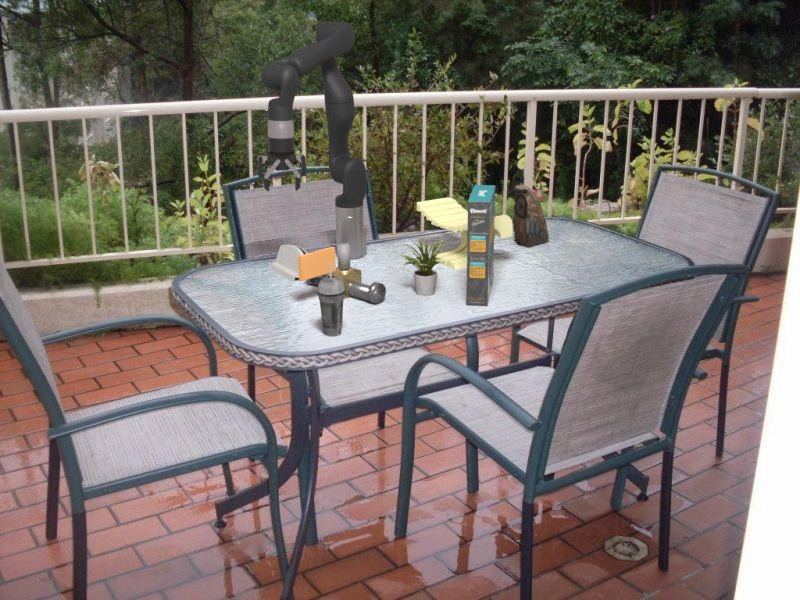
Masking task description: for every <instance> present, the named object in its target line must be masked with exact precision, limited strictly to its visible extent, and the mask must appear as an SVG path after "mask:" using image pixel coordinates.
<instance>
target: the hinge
mask: <svg viewBox="0 0 800 600" xmlns="http://www.w3.org/2000/svg"><path fill="white" fill-rule="evenodd" d="M308 253H309V252H308V251H307V250H306V249H304V248H303V247H301V246H298V245H296V244H295V245H294V244H281V245H280V247H279V250H278V253H277V256H276V258H275V261H274V262H272V263H271V265H270V270H271V271H273V272H274V273H276V274H278V275H280V276H282V277H284V278H285V279H287V280H289V281H290V282H292V283H294V282H295V280H296V278H298V279H299V267H298V256H301V255H304V254H308Z"/></svg>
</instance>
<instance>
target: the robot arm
mask: <svg viewBox="0 0 800 600" xmlns="http://www.w3.org/2000/svg"><path fill="white" fill-rule="evenodd" d="M355 40H356V34H355V29H354V27H353V26H352V25H351V24H350V23H348V22H345V21H322V22H320V23H319V24H318V25H317V26H316V29H315V42H313V43H309V44H307V45H304V46H302V47H300V48H297V50H295V51H293V52H292V53H291V54H289V55H288V56H286V57H282V58H279V59H276V60H273V61H272V62H269V63H268V64H266V65H265V67H263V69H262V71H261V73H260V74H261V75H260V79H261V83H262V85H263V86H264V87H265V88H267V89H269V90H277V91H280V93H279V95H278V97H276V98H271V99H269V100H268V104H267V107H268V108H267V110H268V111H267V112H268V115H267V116H268V121H267V122H268V123H267V141H268V142H267V144H268V145H267V146H268V150H267V151H268V152H267V153H268V154H267V155H260V154H259V155H257V164H256V165H257V168H256V169H257V176H258V177H260V178H262V179H263V188H264V190H265V191H266V192H270V178H269V177H270V176H271V174H272V173H274V171H277V172H279V171H288V170H291V172H292V173H293V174H294V176H295V177H294V190H295V191H296V192H297V191H299V189H301V179H302V177H305V176H307V173H308V172H307V171H308V170H307V160H306V156H305V154H299V155H296V152H295V124H294V107H293V106H294V102H295V98H296V97H295V96H296V94H297V93H296V92H297V89H298V87H299V86H298V85H299V79H300V78H302V77H304V76H305V75H307V74H308V73H310V72H311V71H312V70H313V69H315V68H317V67H318V66H320V70H321V78H322V84H323V85H322V86H323V95H324V107H325V109H324V110H325V115H326V123H327V125H326V126H327V134H328V170H329V175H330V177H331V179H332V180H333V181H334V182H335V183H337V184H341V185H342V193H341V194H339V195H337V196H335V198H334V199H335V200H334V204H335V205H334V207H335V209H334V210H335V211H334V213H335V233H336V234H335V238H336V239H335V240H336V246H337V244H338V243H349V244H350V260H352V259H353V260H355V259H361V258H363V257H364V256H365V255H367V227H366V226H365V225H364V223H365V221H364V220H365V218H364V199H365V197H366V187H367V168H366V165H365V163H364V161H363V160H362V159H360V158H358V157H354V156H350V152H349V135H350V132H351V130H352V126H353V124H354V120H355V116H356V114H355V113H356V109H355V100H354V99H355V98H354V94H353V90H352V88H351V87H350V86H349V84H348V82H347V81H346V79H345V78H344V76H343V74H342V73H341V71H340V69H339V67H338V63H337V56H339V55H342V54H345V53H347V52H349V51H350V50H351V49H352V48H353V47H354V44H355ZM266 161H268V163H269V166H268V167H267V169H266V171H265V172H263V164H264V165H265V162H266ZM296 161H298V163H300V170H301V171H298V170H297V169H296V167H295V166H294V164H295V162H296ZM336 256H337V258H338V249H337V248H336Z"/></svg>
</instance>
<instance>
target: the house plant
mask: <svg viewBox="0 0 800 600" xmlns="http://www.w3.org/2000/svg"><path fill="white" fill-rule="evenodd" d="M417 240H418V242H419V243H418V244H419V245H418V244H417V243H415V242H414V245H416V246H417V248H418V250H419V252H418V251H417V250H416V248H414V247H413V246H411V245H408V244H405V243H402V245H404V246H407V247H406V249H409V251H411V253H413V255H415V256H416V258H414V257H411V256H409V255H404V254H399V256H400V257H402V259H404V260H407V261H406V262H405V263H403V267H404V266H406V265H409V264H410V265H412V266H414V267H415V269H417V270H414V271H413V280H414V285H415V291H416V294H417V295H418V296H420V297H421V296H422V297H428V296H429V297H430V296H433V295H434V294H435V288H436V285H437V284H436V283H437V279H438V272H437V271H436V270H433V268H434V267H435V266H436V265H437V264H438V265H439V264H440V263H444V262H438V261H436V260H437V259H440V258H435V257H436V256H437V254H440V252H441V250H442V249H443V248H444V247H443V246H442V244H441V243H442V242H443V241H445V239H442V240H439V241H436V242H433V243H432V245H431V246H430V248H429V243H428V241H425V243H424V245H423V242H422V241H421V240H420V238H417ZM441 246H442V247H441ZM440 247H441V248H440ZM439 249H440V250H439ZM438 250H439V251H438ZM444 264H445V263H444Z"/></svg>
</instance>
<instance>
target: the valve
mask: <svg viewBox="0 0 800 600" xmlns="http://www.w3.org/2000/svg"><path fill="white" fill-rule="evenodd" d="M331 273H332V276H336V277H338V278H339V279H340V280H341V281H342V282H343V285H344V288H345V296H344V299H343V300H345V299H348V298H351V297H352V298H357V299H360V300H363V301H367V302H370V303H373V304H376V305H379V304H381V303H382V302H383V301H384V299H385V297H386V294H387V288H386V286H385V285H384V283H382V282H378V281H375V282H373V283H371V284H370V285H369V284H366V283H362V281H363V280H362V269H357V268H355V267H352V266H350V268H349V269H339V268H338V266H337V267H336V271H333V272H331ZM326 276H330V274H329V273H327V274H324V275H320V276H317V277H314V278H311V279H307V280H305V281H306V283H308V284H309V285H313V286H316V287H318V285H319V283H320V281H321V280H322V279H323V278H325V277H326Z"/></svg>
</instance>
